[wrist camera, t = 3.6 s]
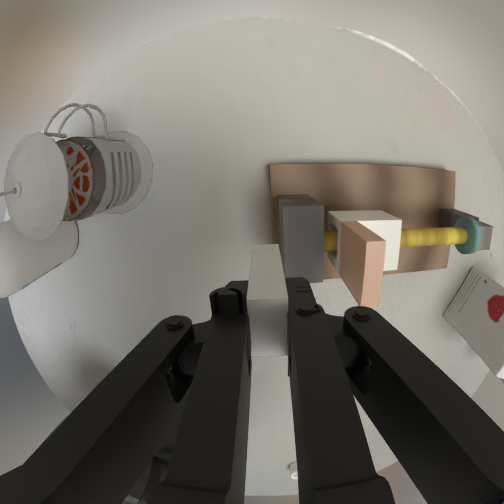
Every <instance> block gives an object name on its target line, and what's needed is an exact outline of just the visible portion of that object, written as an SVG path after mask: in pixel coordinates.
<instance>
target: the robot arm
mask: <svg viewBox="0 0 504 504" xmlns="http://www.w3.org/2000/svg"><path fill="white" fill-rule="evenodd" d="M209 297H210V303H211V310H212V317H211V320H209V321H206V322H203V323H198V324H193V325H192V321H191V319H189V318H188V317H186V316H178V315H175V316H170V317H168V318H165V319H164V320H162V321H161V322H160V323H159V324H158V325H157V326H156V327H155V328H154V329H153V330H152V331H151V332H150V333H149V334H148V335H147V336H146V337H145V338H144V339H143V340H142V341H141V342H140V343H139V344H138V345H137V346H136V347H135V348H134V349H133V350H132V351H131V352H130V353H129V354H128V355H127V356H126V357H125V358H124V359H123V360H122V361H121V362H120V363H119V364H118V365H117V366H116V367H115V368H114V369H113V370H112V371H111V372H110V373H109V374H108V375H107V376H106V377H105V378H104V379H103V380H102V381H101V382H100V383H99V384H98V385H97V386H96V387H95V389H94V390H93V391H92V392H91V393H90V394H89V395H88V396H87V397H86V398H85V399H84V400H83V401H82V402H81V403H80V404H79V405H78V406H77V407H76V408H75V409H74V410H73V411H72V412H71V413H70V415H68V416H67V417H65V418H64V419H63V420H62V421H61V422H60V423H59V425H58V426H57V427H56V428H55V429H54V430H53V431H52V432H51V434H50V435H49V436H48V437H47V439H46V440H45V441H44V442H43V443H42V444H41V445H40V446H39V448H38V449H37V450H36V451H35V452H34V453H33V454H32V455H31V456H30V457H29V459H27V461H26V462H25V463H24V464H23V465H21V466H19V467H17V468H15V469H13V470H11V471H9V472H7V473H5V474H3V475H1V476H0V504H244V493H245V477H246V460H247V443H248V425H249V407H250V389H251V370H252V362H251V356H252V357H262V356H284V355H288V376H289V377H290V387H291V398H292V409H293V420H294V432H295V445H296V458H297V472H298V487H299V504H395V502H394V498H393V494H392V490H391V488H390V485H389V482H388V481H387V480H386V479H385V478H384V477H382V476H379V475H378V474H377V473H376V471H375V468H374V465H373V461H372V457H371V454H370V450H369V446H368V443H367V439H366V436H365V432H364V429H363V426H362V422H361V419H360V416H359V412H358V409H357V406H356V403H355V399H354V396H355V398H356V399H357V401H358V402H359V403H360V405H361V406H362V408H363V409H364V411H365V412H366V414H367V415H368V417H369V418H370V420H371V421H372V422H373V424H374V425H375V427H376V428H377V430H378V431H379V433H380V434H381V436H382V437H383V439H384V440H385V441H386V443H387V444H388V446H389V447H390V449H391V450H392V452H393V453H394V455H395V456H396V458H397V459H398V461H399V462H400V463H401V465H402V466H403V468H404V469H405V471H406V472H407V474H408V475H409V477H410V478H411V480H412V481H413V482H414V484H415V485H416V487H417V488H418V490H419V491H420V493H421V494H422V496H423V497H424V499H425V500H426V502H427V503H428V504H504V432H503V430H502V429H501V428H500V427H499V426H498V425H497V424H496V423H495V422H494V421H493V420H492V419H491V418H490V417H489V416H488V415H487V414H486V413H485V412H484V411H483V410H482V409H481V408H480V407H479V406H478V405H477V404H476V403H475V402H474V401H473V400H472V399H471V398H470V397H469V396H468V395H467V394H466V393H465V392H464V391H463V390H462V389H461V388H460V387H459V386H458V385H457V384H456V383H455V382H453V381H452V380H451V379H450V378H449V377H448V376H447V375H446V374H445V373H444V372H443V371H442V370H441V369H440V368H439V367H438V366H437V365H435V364H434V363H433V362H432V361H431V360H430V359H429V358H428V357H427V356H426V355H425V354H424V353H422V352H421V351H420V350H419V349H418V348H417V347H416V346H415V345H414V344H413V343H411V342H410V341H409V340H408V339H407V338H406V337H405V336H404V335H402V334H401V333H400V332H399V331H398V330H397V329H396V328H395V327H393V326H392V325H391V324H390V323H389V322H388V321H387V320H386V319H384V318H383V317H382V316H381V315H380V314H379V313H378V312H376V311H375V310H373V309H372V308H368V307H365V306H356V307H351V308H349V309H347V310H346V311H345V314H344V317H341V316H333V315H329V314H326V313H325V312H324V309H323V308H322V306H321V305H319V304H317V303H316V300H315V297H314V295H313V292H312V289H311V286H310V283H309V281H308V280H306V279H305V278H304V277H292V278H285V277H284V272H283V266H282V261H281V255H280V250H279V245H278V244H266V245H253V247H252V256H251V265H250V274H249V280H247V281H231V282H229V283H228V284H227V285H226V286H225V287H222V288H219V289H216V290H214V291H212V292H211V293H210V295H209ZM353 395H354V396H353Z"/></svg>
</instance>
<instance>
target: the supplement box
mask: <svg viewBox="0 0 504 504" xmlns="http://www.w3.org/2000/svg"><path fill="white" fill-rule="evenodd" d="M443 317H444V318H445V319H446V320H447V321H448V322H449V323H450V324H451V325H452V326H453V327H454V328H455V329H456V330H457V331H458V332H459V334H460V335H461V336H462V337H463V338H464V339H465V340H466V341H467V342H468V344H469V345H470V346H471V347H472V348H473V349H474V350H475V352H476V353H477V354H478V355H479V356H480V358H481V359H482V360H483V361H484V362H485V364H486V365H487V366H488V367H489V368H490V370H491V371H492V372H493V373H494V374H495V376H496V377H499V378H502V379H504V287H502V286H501V285H499V284H498V283H497V282H495V281H494V280H492V279H491V278H489V277H488V276H487V275H485V274H484V273H482V272H481V271H479V270H478V269H476V268H475V267H472V269H471V271H470V273H469V274H468V276H467V278H466V280H465V281H464V283H463V285H462V286H461V288H460V290H459V291H458V293H457V294H456V296H455V298H454V299H453V301H452V302H451V304H450V305H449V307H448V308H447V310H446V311H445V313H444V314H443Z"/></svg>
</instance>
